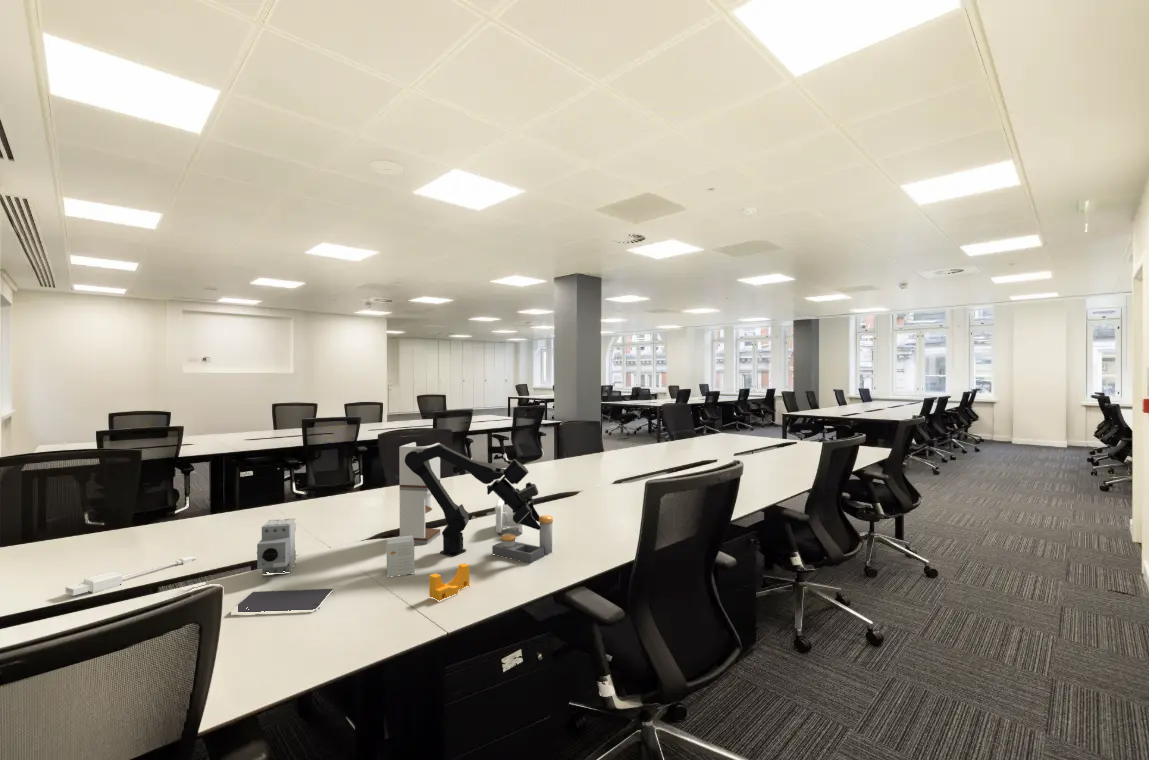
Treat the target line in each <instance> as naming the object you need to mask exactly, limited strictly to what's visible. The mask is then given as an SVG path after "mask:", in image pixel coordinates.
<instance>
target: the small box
mask: <svg viewBox="0 0 1149 760" xmlns="http://www.w3.org/2000/svg"><path fill="white" fill-rule="evenodd" d="M415 572H416V571H415V543H414V539H413V536H404V537H400V536H398V537H397V536H396V537H388V538H386V575H387V578H388V577H389V578H392V577H391V576H396V577H399V576H398V575H403V576H407V575H406V574H411V575H413V574H412V573H414V574H415Z"/></svg>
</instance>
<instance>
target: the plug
mask: <svg viewBox="0 0 1149 760" xmlns="http://www.w3.org/2000/svg"><path fill="white" fill-rule="evenodd" d="M539 516H540V517H539V522H538V523H539V526H540V527H541V528H540V529H539V547H544V555H550V554H552V553H553V522H554V516H553V515H547V514H546V515H545V514H544V515H539ZM549 553H550V554H549Z"/></svg>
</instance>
